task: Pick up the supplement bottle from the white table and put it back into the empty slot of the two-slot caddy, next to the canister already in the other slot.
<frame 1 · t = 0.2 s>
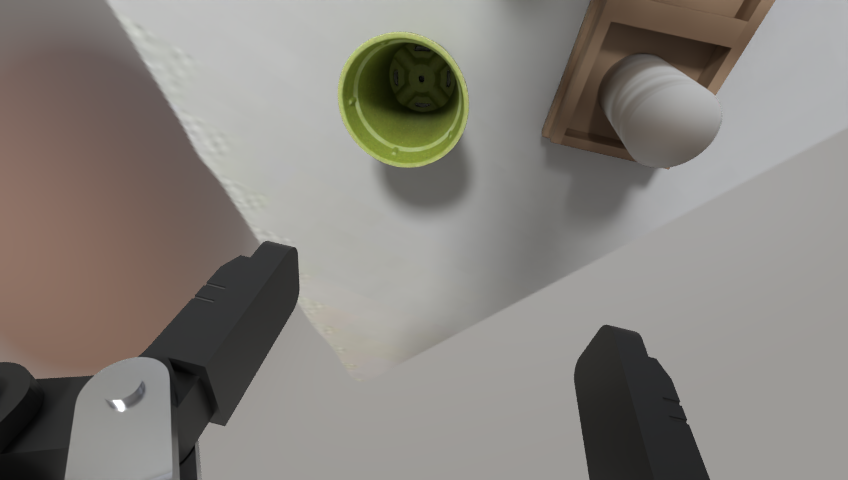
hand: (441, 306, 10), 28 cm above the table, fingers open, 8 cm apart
caddy: (662, 15, 28), on the table
plant pot: (423, 75, 34), on the table
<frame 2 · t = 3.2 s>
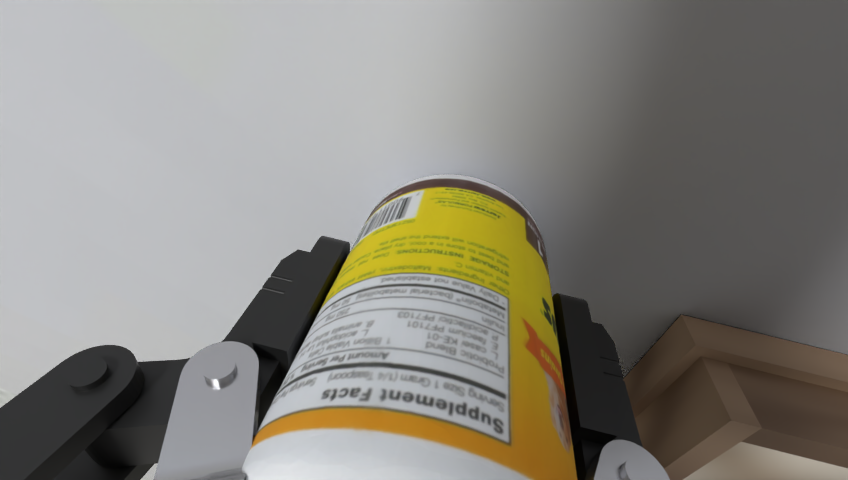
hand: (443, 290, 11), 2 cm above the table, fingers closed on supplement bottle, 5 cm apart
supplement bottle: (454, 240, 12), on the table, touching gripper
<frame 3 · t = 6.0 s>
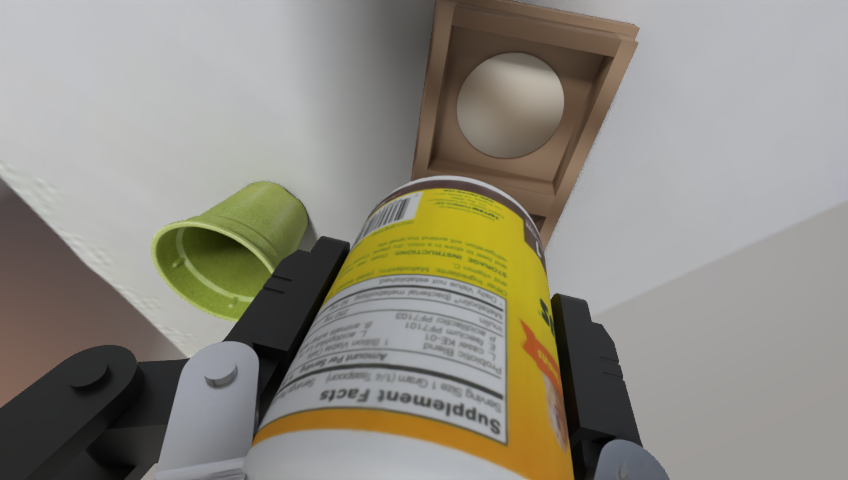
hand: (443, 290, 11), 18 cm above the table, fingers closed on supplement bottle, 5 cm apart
supplement bottle: (453, 241, 12), point 16 cm above the table, touching gripper
caddy: (489, 170, 28), on the table
plant pot: (276, 209, 34), on the table
when the fingers open (5 cm above the table, at t = 9.1 s): supplement bottle drops 1 cm, resting on caddy.
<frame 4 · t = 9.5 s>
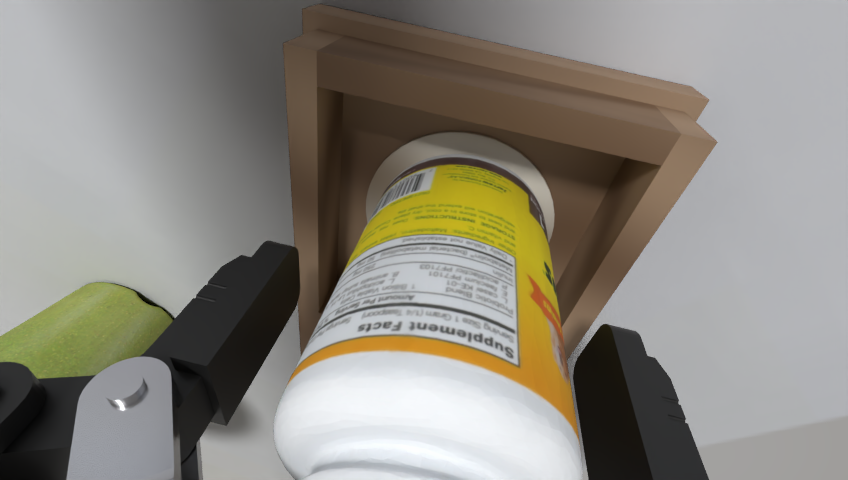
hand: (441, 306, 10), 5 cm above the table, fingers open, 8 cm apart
supplement bottle: (460, 218, 13), point 1 cm above the table, touching caddy
caddy: (435, 293, 17), on the table
plant pot: (135, 314, 23), on the table
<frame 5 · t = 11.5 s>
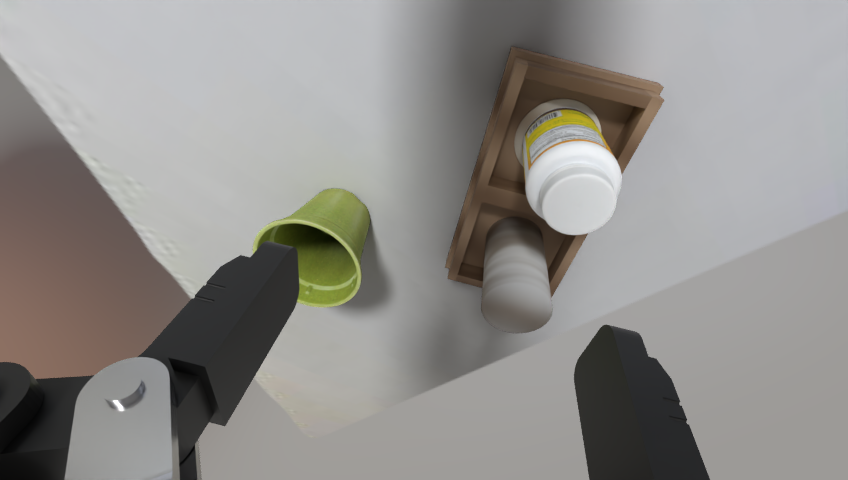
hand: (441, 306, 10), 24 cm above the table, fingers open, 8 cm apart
supplement bottle: (558, 139, 30), point 1 cm above the table, touching caddy
caddy: (532, 188, 34), on the table
plant pot: (342, 212, 39), on the table
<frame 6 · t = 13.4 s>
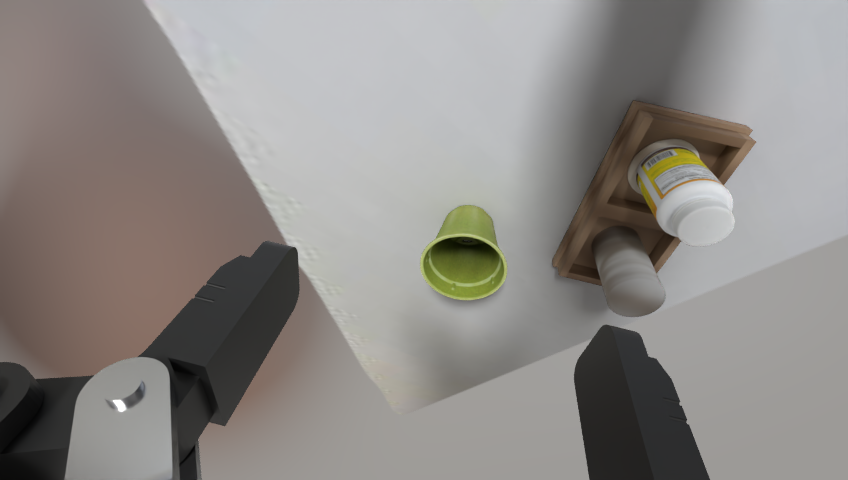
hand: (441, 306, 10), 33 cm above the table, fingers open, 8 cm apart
supplement bottle: (664, 168, 39), point 1 cm above the table, touching caddy
caddy: (634, 203, 43), on the table
plant pot: (469, 223, 49), on the table
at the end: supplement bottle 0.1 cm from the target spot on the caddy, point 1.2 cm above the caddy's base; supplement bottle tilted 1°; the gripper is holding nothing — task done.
